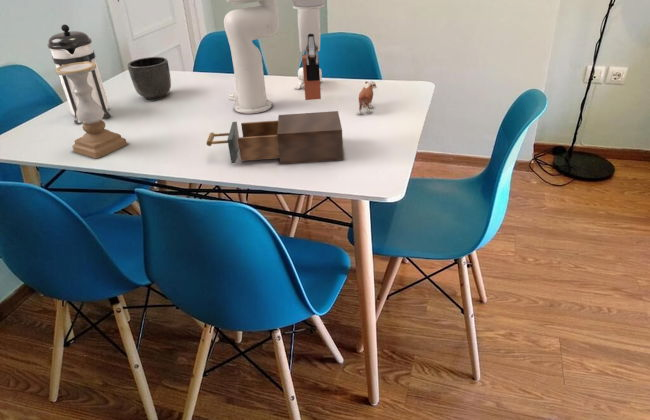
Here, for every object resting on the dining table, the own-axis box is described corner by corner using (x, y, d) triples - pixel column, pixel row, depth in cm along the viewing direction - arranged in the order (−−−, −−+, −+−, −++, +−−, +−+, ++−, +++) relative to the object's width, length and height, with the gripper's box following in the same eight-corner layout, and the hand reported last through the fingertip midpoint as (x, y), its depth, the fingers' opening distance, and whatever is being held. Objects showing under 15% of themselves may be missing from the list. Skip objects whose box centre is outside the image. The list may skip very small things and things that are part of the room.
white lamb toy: (302, 90, 191) (291, 87, 177) (303, 67, 190) (291, 63, 175) (323, 90, 189) (314, 88, 175) (324, 67, 188) (315, 63, 173)
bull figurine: (378, 102, 166) (378, 78, 162) (368, 117, 156) (368, 91, 151) (365, 101, 168) (365, 78, 163) (354, 116, 157) (354, 91, 153)
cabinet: (280, 164, 130) (277, 134, 126) (281, 143, 142) (278, 114, 137) (343, 160, 130) (342, 129, 126) (339, 139, 142) (337, 110, 137)
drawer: (207, 165, 130) (203, 141, 126) (214, 145, 140) (210, 123, 137) (290, 159, 130) (287, 135, 127) (290, 140, 141) (288, 118, 137)
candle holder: (96, 158, 139) (69, 74, 126) (73, 151, 144) (44, 69, 131) (128, 144, 146) (105, 63, 134) (104, 138, 152) (80, 59, 139)
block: (305, 100, 126) (302, 58, 121) (305, 95, 130) (302, 54, 124) (320, 99, 126) (318, 57, 121) (320, 94, 130) (317, 53, 124)
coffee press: (127, 110, 172) (102, 19, 157) (91, 126, 160) (61, 30, 144) (91, 105, 179) (64, 17, 163) (54, 120, 167) (21, 28, 151)
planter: (182, 93, 185) (175, 58, 178) (153, 105, 175) (145, 69, 168) (157, 88, 192) (149, 55, 185) (128, 100, 182) (118, 64, 175)
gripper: (292, -5, 123) (298, 69, 132) (292, 7, 108) (298, 88, 118) (322, -6, 123) (326, 67, 132) (326, 5, 109) (329, 86, 118)
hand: (313, 76), depth 125 cm, fingers closed on block, 4 cm apart
